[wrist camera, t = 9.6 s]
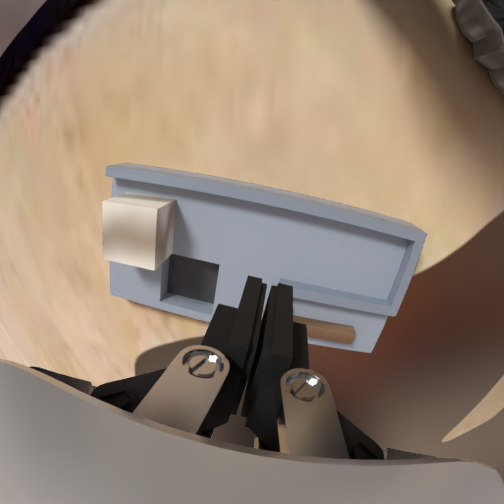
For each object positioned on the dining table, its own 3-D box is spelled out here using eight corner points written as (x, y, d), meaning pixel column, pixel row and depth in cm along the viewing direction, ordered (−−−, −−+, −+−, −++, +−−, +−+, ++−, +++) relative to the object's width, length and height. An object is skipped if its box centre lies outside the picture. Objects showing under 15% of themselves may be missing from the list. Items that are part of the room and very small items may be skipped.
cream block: (126, 192, 28) (102, 201, 23) (176, 199, 27) (157, 209, 23) (125, 243, 30) (103, 258, 25) (172, 253, 29) (154, 270, 25)
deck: (126, 162, 29) (106, 166, 25) (411, 223, 28) (427, 233, 24) (120, 285, 34) (104, 300, 31) (366, 340, 33) (373, 361, 29)
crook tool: (275, 295, 30) (274, 302, 28) (359, 312, 29) (361, 319, 28) (268, 321, 31) (267, 329, 29) (349, 336, 30) (351, 344, 29)
